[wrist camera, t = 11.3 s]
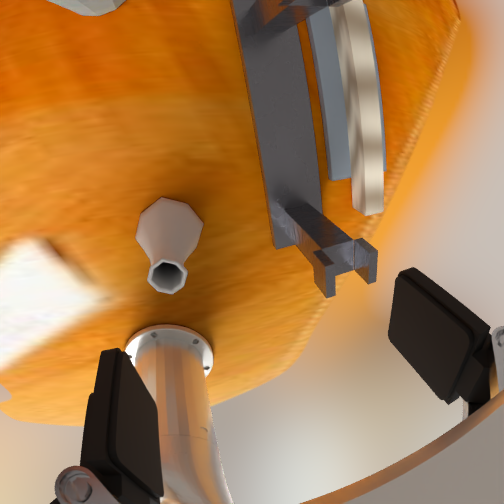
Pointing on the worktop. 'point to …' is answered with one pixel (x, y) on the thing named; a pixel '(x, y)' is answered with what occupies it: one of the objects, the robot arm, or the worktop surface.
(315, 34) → the mat
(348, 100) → the rail
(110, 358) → the robot arm
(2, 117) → the worktop surface
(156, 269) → the flask
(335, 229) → the grey holder stand
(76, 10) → the disposable coffee cup
